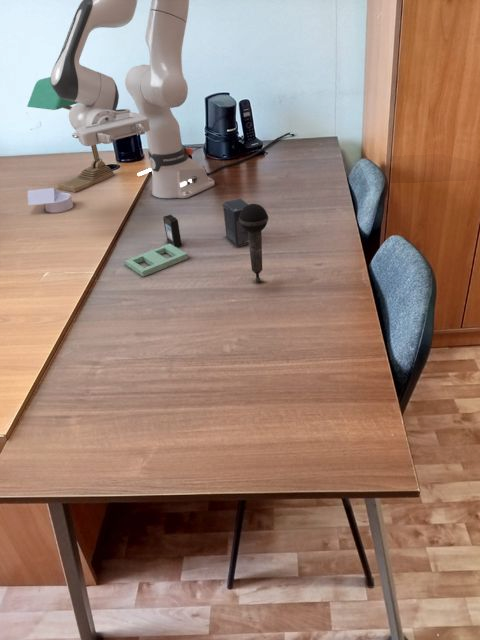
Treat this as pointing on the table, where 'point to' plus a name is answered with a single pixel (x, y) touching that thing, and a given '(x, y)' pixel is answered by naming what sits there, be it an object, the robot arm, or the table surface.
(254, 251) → the microphone
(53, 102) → the banker's lamp
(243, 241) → the box
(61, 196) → the wedge on round base
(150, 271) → the holder
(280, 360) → the table surface
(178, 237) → the ink cartridge
